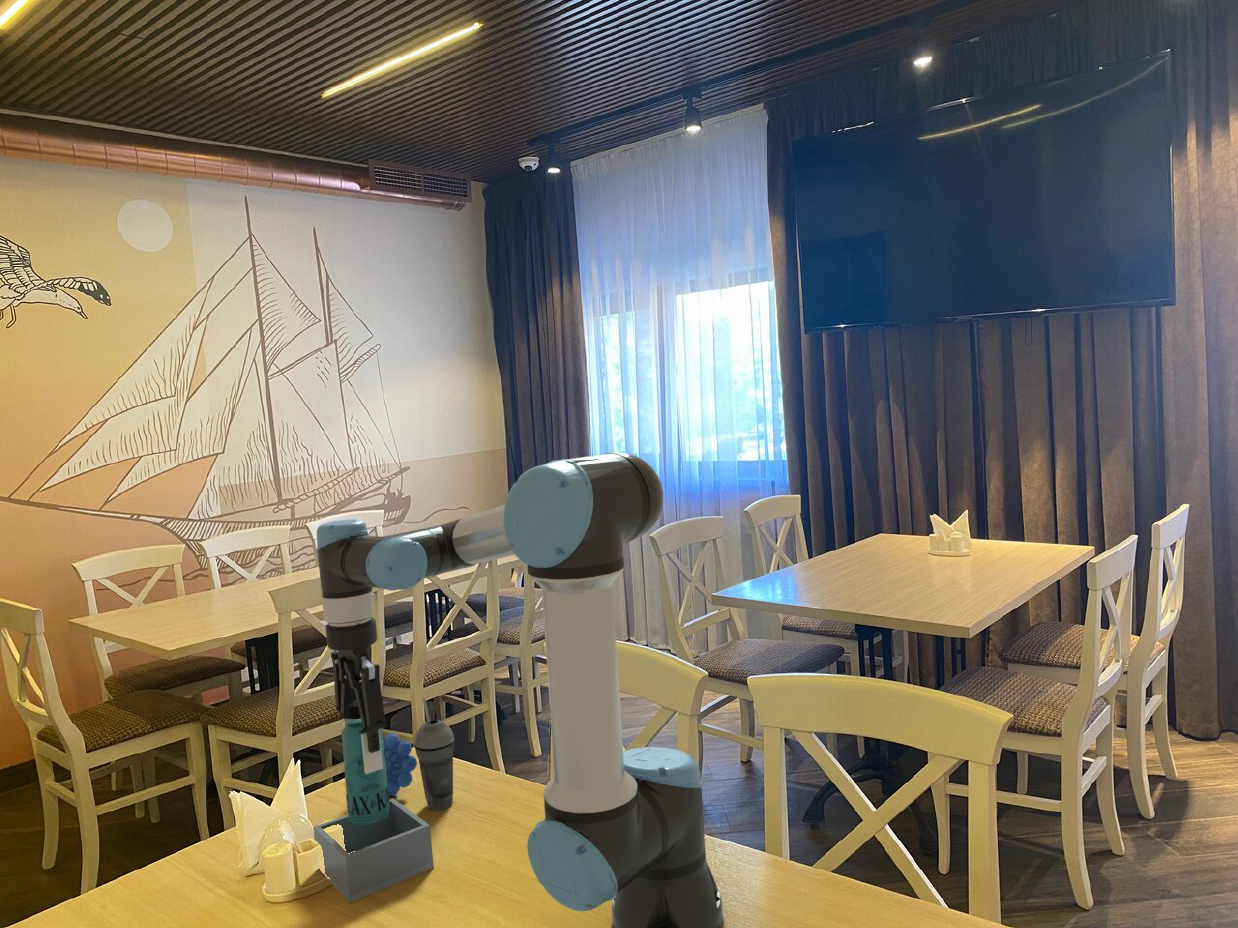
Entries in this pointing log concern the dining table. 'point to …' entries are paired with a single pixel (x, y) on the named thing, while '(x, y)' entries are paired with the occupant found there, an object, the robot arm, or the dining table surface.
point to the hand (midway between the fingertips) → (364, 763)
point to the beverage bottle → (362, 776)
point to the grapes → (398, 763)
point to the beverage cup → (436, 761)
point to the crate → (376, 852)
